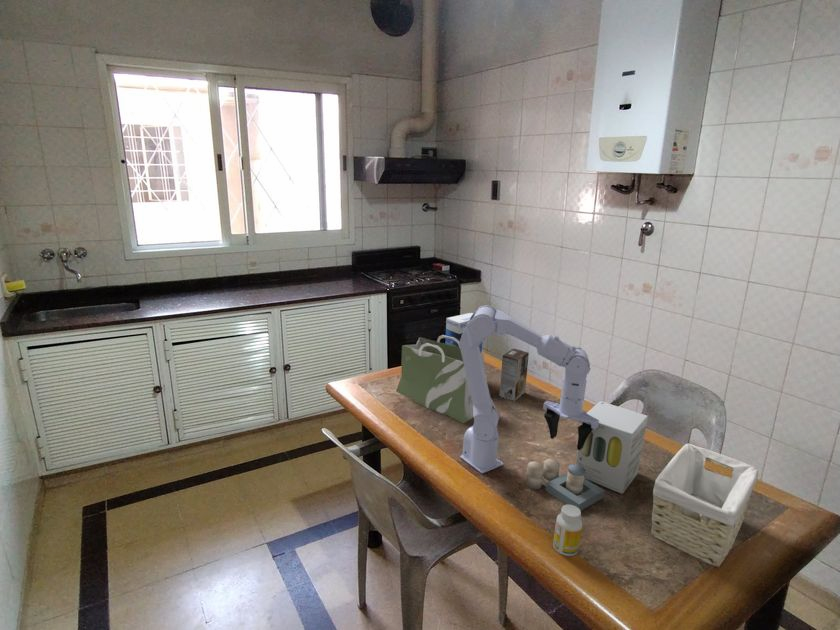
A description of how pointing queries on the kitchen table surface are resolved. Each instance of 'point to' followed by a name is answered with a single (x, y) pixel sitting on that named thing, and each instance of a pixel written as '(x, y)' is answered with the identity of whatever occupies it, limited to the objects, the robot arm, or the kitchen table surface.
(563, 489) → the collar block
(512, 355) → the coffee box
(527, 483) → the medium pin
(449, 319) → the string lights box
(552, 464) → the short pin
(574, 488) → the long pin
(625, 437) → the supplement box
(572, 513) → the supplement bottle
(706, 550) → the storage basket
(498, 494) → the kitchen table surface
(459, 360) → the grocery bag
